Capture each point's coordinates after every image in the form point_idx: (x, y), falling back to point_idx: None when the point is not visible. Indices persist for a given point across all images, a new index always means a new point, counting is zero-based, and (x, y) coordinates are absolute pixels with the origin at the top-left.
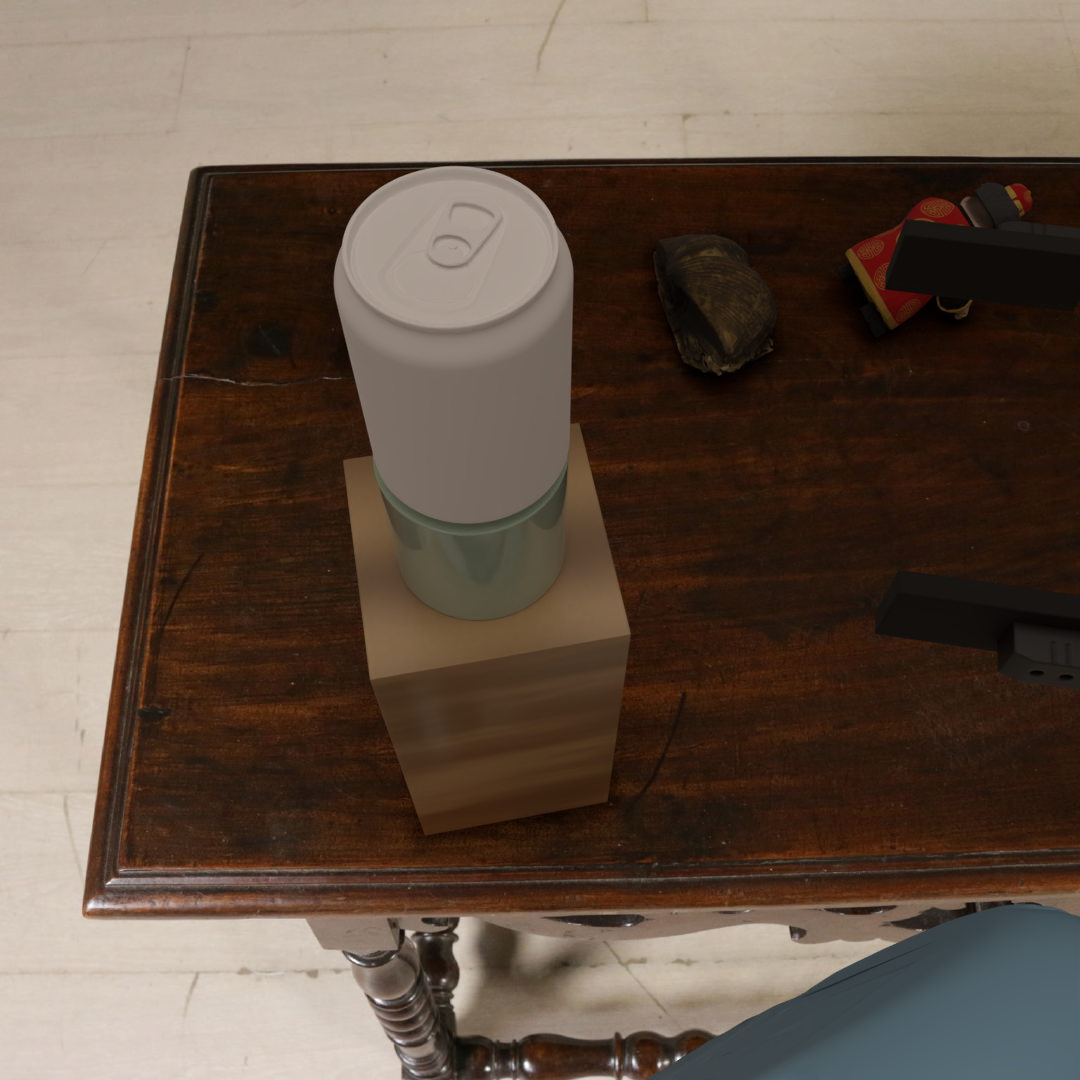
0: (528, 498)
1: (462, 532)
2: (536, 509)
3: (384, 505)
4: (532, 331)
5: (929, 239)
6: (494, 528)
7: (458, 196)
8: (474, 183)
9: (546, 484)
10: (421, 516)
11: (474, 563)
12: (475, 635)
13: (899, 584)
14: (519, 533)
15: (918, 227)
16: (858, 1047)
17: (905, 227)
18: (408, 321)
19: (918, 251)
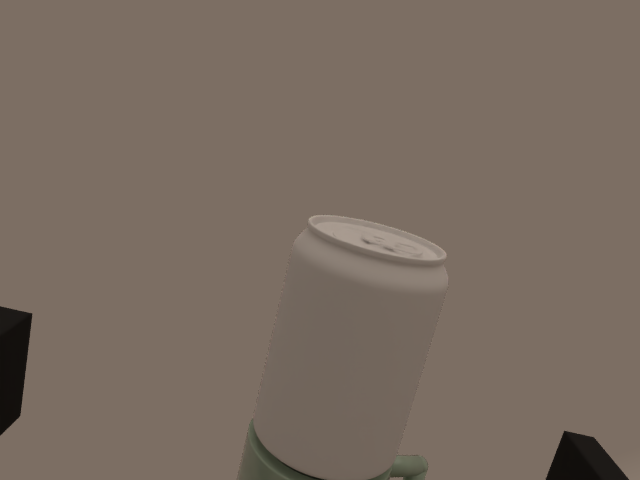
0: (272, 441)
1: (250, 430)
2: (273, 468)
3: None
4: (327, 261)
5: (578, 453)
6: (254, 445)
7: (418, 247)
8: (435, 255)
9: (286, 451)
10: None
11: (239, 472)
12: None
13: (11, 309)
14: (256, 473)
15: (589, 445)
16: None
17: (578, 434)
18: (311, 217)
19: (567, 473)
